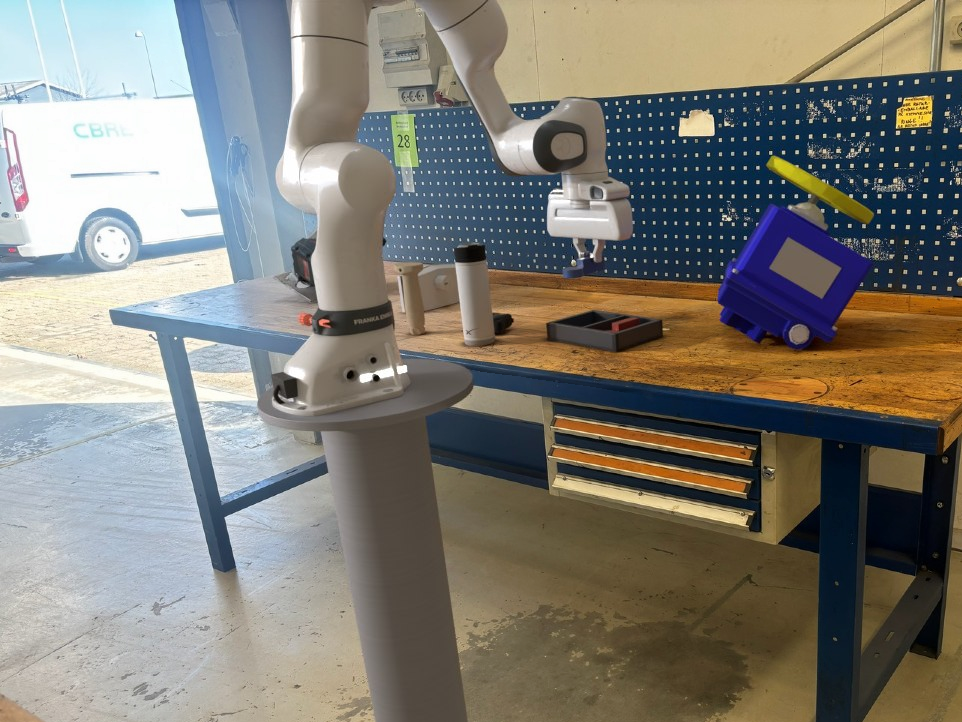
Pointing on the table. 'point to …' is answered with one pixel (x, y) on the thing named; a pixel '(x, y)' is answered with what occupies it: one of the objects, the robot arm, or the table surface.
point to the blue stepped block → (583, 268)
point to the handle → (412, 296)
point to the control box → (794, 268)
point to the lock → (435, 286)
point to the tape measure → (502, 322)
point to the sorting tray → (603, 330)
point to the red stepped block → (624, 324)
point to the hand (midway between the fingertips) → (590, 261)
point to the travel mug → (474, 295)
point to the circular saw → (303, 267)
